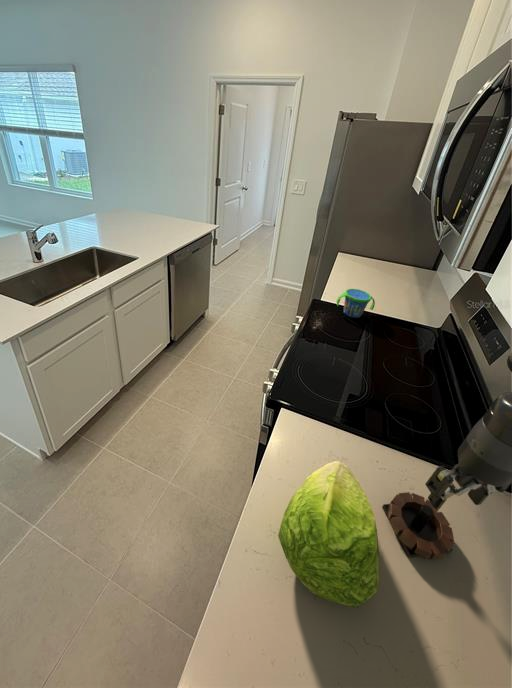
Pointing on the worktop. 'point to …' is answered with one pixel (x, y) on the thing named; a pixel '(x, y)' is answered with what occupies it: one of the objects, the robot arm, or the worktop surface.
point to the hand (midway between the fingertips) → (453, 501)
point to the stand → (417, 525)
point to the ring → (408, 537)
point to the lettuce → (332, 537)
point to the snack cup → (355, 302)
